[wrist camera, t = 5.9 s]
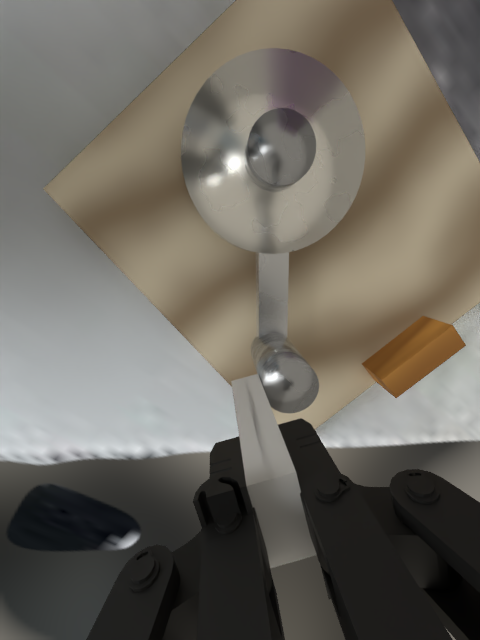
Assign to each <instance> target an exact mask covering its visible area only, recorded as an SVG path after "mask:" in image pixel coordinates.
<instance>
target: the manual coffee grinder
mask: <svg viewBox="0 0 480 640" xmlns="http://www.w3.org/2000/svg"><path fill="white" fill-rule="evenodd" d="M181 162H182V170H183V175H184V179H185V184H186V187H187V189H188V192H189V195H190V197H191V199H192V201H193V203H194V205H195V207H196V209H197V211H198V213H199V214H200V216H201V217H202V219H203V220H204V222H205V223H206V224H207V225H208V226H209V227H210V229H211V230H212V231H213V232H214V233H216V234H217V235H218V236H219V237H220V238H222V239H223V240H225V241H226V242H228V243H229V244H231V245H233V246H235V247H237V248H240V249H243V250H246V251H250V252H255V253H256V337H255V338H254V340H253V342H252V344H251V356H252V359H253V362H254V365H255V368H256V371H257V374H258V375H259V378H260V381H261V383H262V386H263V388H264V391H265V393H266V396H267V399H268V401H269V404H270V406H271V407H272V408H273V409H275V410H277V411H279V412H282V413H297V412H300V411H302V410H304V409H306V408H307V407H309V406H310V405H311V404H312V403H313V401H314V400H315V399H316V397H317V394H318V391H319V380H318V377H317V375H316V373H315V371H314V370H313V369H312V368H311V366H310V365H309V364H308V363H307V361H306V360H305V359H304V358H303V356H302V355H301V354H300V353H299V351H298V350H297V349H296V348H295V346H294V345H293V344H292V343H291V341H290V340H289V339H288V338H287V324H288V276H289V252H292V251H296V250H299V249H302V248H304V247H307V246H309V245H311V244H313V243H315V242H317V241H318V240H320V239H321V238H322V237H324V236H325V235H327V234H328V233H329V232H330V231H331V230H332V229H333V228H334V227H336V225H337V224H338V223H339V222H340V221H341V220H342V218H343V217H344V216H345V214H346V213H347V211H348V210H349V208H350V207H351V205H352V203H353V201H354V199H355V197H356V195H357V192H358V189H359V187H360V184H361V180H362V176H363V172H364V164H365V136H364V130H363V125H362V121H361V117H360V114H359V112H358V109H357V106H356V104H355V102H354V100H353V98H352V96H351V94H350V93H349V91H348V90H347V88H346V87H345V85H344V84H343V83H342V81H341V80H340V79H339V78H338V77H337V76H336V75H335V74H334V73H333V72H332V71H331V70H330V69H329V68H327V67H326V66H325V65H324V64H322V63H320V62H319V61H317V60H316V59H314V58H312V57H310V56H308V55H305V54H303V53H300V52H297V51H293V50H289V49H280V48H267V49H259V50H255V51H250V52H247V53H245V54H242V55H239V56H237V57H235V58H234V59H232V60H230V61H228V62H226V63H225V64H224V65H223V66H221V67H220V68H219V69H217V70H216V71H215V72H214V73H213V74H212V75H211V76H210V77H209V78H208V79H207V80H206V82H205V83H204V84H203V86H202V87H201V88H200V90H199V91H198V93H197V94H196V96H195V98H194V100H193V102H192V104H191V106H190V109H189V111H188V114H187V116H186V120H185V124H184V128H183V133H182V141H181Z"/></svg>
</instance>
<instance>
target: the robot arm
mask: <svg viewBox="0 0 480 640" xmlns="http://www.w3.org/2000/svg"><path fill="white" fill-rule="evenodd" d="M231 382H232V389H233V396H234V403H235V410H236V417H237V424H238V431H239V437H236V438H232V439H229V440H225V441H222V442H218V443H215V445H214V447H213V449H212V451H211V453H210V479H208V480H207V481H206V482H205V483H203V484H202V485H201V486H200V487H199V489H198V490H197V491H196V493H195V496H194V499H193V503H194V506H195V509H196V511H197V514H198V517H199V520H200V523H201V526H202V529H201V531H200V532H199V533H198V534H197V535H196V536H195V537H194V538H193V539H192V540H190V541H189V542H188V543H186V544H185V545H183V546H181V547H180V548H178V549H176V550H175V551H173V552H171V551H170V550H169V549H168V548H167V547H166V546H162V545H153V546H149V547H147V548H145V549H143V550H142V551H140V552H138V553H136V554H135V555H134V556H133V557H132V558H131V559H130V560H129V561H128V562H127V563H126V565H125V566H124V568H123V569H122V571H121V572H120V574H119V576H118V578H117V580H116V581H115V584H114V585H113V587H112V589H111V591H110V594H109V595H108V597H107V599H106V602H105V603H104V605H103V608H102V610H101V611H100V613H99V615H98V617H97V619H96V621H95V623H94V625H93V628H92V629H91V632H90V633H89V636H88V638H87V639H86V640H285V638H284V632H283V627H282V621H281V616H280V610H279V604H278V599H277V593H276V589H275V586H274V583H273V579H272V575H271V570H270V568H273V567H277V566H280V565H284V564H287V563H291V562H295V561H298V560H301V559H304V558H308V557H311V556H315V555H316V554H317V557H318V560H319V562H320V565H321V568H322V573H323V577H324V581H325V585H326V589H327V593H328V598H329V599H331V600H332V603H333V606H334V608H335V611H336V614H337V617H338V620H339V622H340V626H341V628H342V631H343V634H344V637H345V640H452V638H451V637H450V635H449V633H448V632H447V630H448V631H449V632H450V633H451V634H452V636H453V637H454V638H455V639H456V640H480V502H478V501H476V500H475V499H473V498H472V497H470V496H469V495H467V494H466V493H464V492H463V491H461V490H460V489H458V488H457V487H455V486H454V485H452V484H450V483H449V482H448V481H446V480H444V479H443V478H441V477H439V476H437V475H435V474H433V473H431V472H428V471H423V470H419V469H418V470H405V471H402V472H399V473H397V474H396V475H395V476H394V477H393V478H392V480H391V483H390V487H364V486H361V485H357V484H354V483H353V482H352V481H351V480H350V479H349V478H348V477H347V476H345V475H343V474H341V473H340V472H339V470H338V468H337V467H336V465H335V464H334V462H333V460H332V458H331V457H330V455H329V454H328V452H327V450H326V448H325V447H324V445H323V443H322V442H321V440H320V438H319V436H318V435H317V433H316V431H315V430H314V428H313V426H312V425H311V424H310V423H309V422H307V421H305V420H304V419H302V418H300V419H296V420H293V421H289V422H286V423H282V424H277V422H276V419H275V416H274V414H273V411H272V409H271V406H270V404H269V401H268V399H267V396H266V393H265V391H264V388H263V386H262V383H261V381H260V378H259V375H258V374H255V375H251V376H248V377H244V378H240V379H237V380H233V381H231ZM446 629H447V630H446Z"/></svg>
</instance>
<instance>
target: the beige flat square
mask: <svg viewBox="0 0 480 640" xmlns="http://www.w3.org/2000/svg"><path fill="white" fill-rule="evenodd" d="M267 48H280V49H289V50H293V51H297V52H300V53H303V54H305V55H308V56H310V57H312V58H314V59H316V60H317V61H319V62H320V63H322V64H324V65H325V66H326V67H327V68H329V69H330V70H331V71H332V72H333V73H334V74H335V75H336V76H337V77H338V78H339V79H340V80H341V81H342V83H343V84H344V85H345V87H346V88H347V90H348V91H349V93H350V94H351V96H352V98H353V100H354V102H355V104H356V106H357V109H358V112H359V114H360V117H361V121H362V125H363V130H364V136H365V164H364V172H363V176H362V180H361V184H360V187H359V189H358V192H357V195H356V197H355V199H354V201H353V203H352V205H351V207H350V208H349V210H348V211H347V213H346V214H345V216H344V217H343V218H342V220H341V221H340V222H339V223H338V224H337V225H336V227H334V228H333V229H332V230H331V231H330V232H329V233H328V234H327V235H325V236H324V237H322V238H321V239H320V240H318V241H317V242H315V243H313V244H311V245H309V246H307V247H304V248H302V249H299V250H296V251H292V252H289V276H288V324H287V338H288V339H289V340H290V341H291V343H292V344H293V345H294V346H295V348H296V349H297V350H298V351H299V353H300V354H301V355H302V356H303V358H304V359H305V360H306V361H307V363H308V364H309V365H310V366H311V368H312V369H313V370H314V371H315V373H316V375H317V377H318V380H319V391H318V394H317V397H316V399H315V400H314V401H313V403H312V404H311V405H310V406H309V407H307V408H306V409H304V410H302V411H300V412H297V413H282V412H279V411H277V410H275V409H273V408H272V407H271V409H272V411H273V414H274V416H275V419H276V422H277V424H282V423H286V422H289V421H293V420H296V419H300V418H302V419H304V420H305V421H307V422H309V423H310V424H311V425H312V426H313V428H314V430H315V429H316V428H317V427H319V426H320V425H321V424H323V423H324V422H325V421H327V420H328V419H329V418H330V417H332V416H333V415H334V414H336V413H337V412H338V411H340V410H341V409H342V408H343V407H345V406H346V405H347V404H349V403H350V402H351V401H352V400H354V399H355V398H356V397H358V396H359V395H360V394H362V393H363V392H364V391H365V390H367V389H368V388H369V387H371V386H372V385H373V384H375V383H376V382H377V383H378V384H380V385H381V386H382V387H383V388H384V389H386V390H387V391H388V392H389V393H390V394H392V395H393V396H394V397H395V398H397V397H398V396H400V395H401V394H402V393H404V392H405V391H406V390H408V389H409V388H410V387H412V386H413V385H414V384H416V383H417V382H418V381H420V380H421V379H422V378H424V377H425V376H426V375H427V374H429V373H430V372H431V371H433V370H434V369H435V368H437V367H438V366H439V365H441V364H442V363H443V362H445V361H446V360H447V359H449V358H450V357H451V356H453V355H454V354H455V353H457V352H458V351H459V350H460V349H462V348H463V347H464V346H466V345H465V343H464V342H463V340H462V339H461V337H460V336H459V334H458V333H457V331H456V330H455V328H454V326H453V325H451V324H452V323H454V322H455V321H456V320H458V319H459V318H460V317H461V316H463V315H464V314H465V313H467V312H468V311H469V310H471V309H472V308H473V307H474V306H476V305H477V304H478V303H480V162H479V160H478V158H477V157H476V155H475V153H474V151H473V149H472V147H471V146H470V144H469V142H468V140H467V138H466V136H465V134H464V133H463V131H462V129H461V127H460V125H459V123H458V122H457V120H456V118H455V116H454V114H453V112H452V110H451V109H450V107H449V105H448V103H447V101H446V99H445V97H444V96H443V94H442V92H441V90H440V88H439V86H438V85H437V83H436V81H435V79H434V77H433V75H432V73H431V72H430V70H429V68H428V66H427V64H426V62H425V61H424V59H423V57H422V55H421V53H420V51H419V49H418V48H417V46H416V44H415V42H414V40H413V38H412V37H411V35H410V33H409V31H408V29H407V27H406V25H405V24H404V22H403V20H402V18H401V16H400V14H399V13H398V11H397V9H396V7H395V5H394V3H393V1H392V0H236V1H235V2H234V3H233V4H232V5H231V6H230V7H229V8H228V9H227V10H226V11H225V12H224V13H223V14H221V15H220V16H219V17H218V18H217V19H216V20H215V21H214V22H213V23H212V24H211V25H210V26H209V27H208V28H207V29H206V30H205V31H204V32H203V33H202V34H201V35H200V36H199V37H198V38H197V39H196V40H195V41H194V42H193V43H192V44H191V45H190V46H189V47H188V48H187V49H186V50H185V51H184V52H183V53H182V54H181V55H180V56H178V57H177V58H176V59H175V60H174V61H173V62H172V63H171V64H170V65H169V66H168V67H167V68H166V69H165V70H164V71H163V72H162V73H161V74H160V75H159V76H158V77H157V78H156V79H155V80H154V81H153V82H152V83H151V84H150V85H149V86H148V87H147V88H146V89H145V90H144V91H143V92H142V93H141V94H140V95H139V96H138V97H137V98H135V99H134V100H133V101H132V102H131V103H130V104H129V105H128V106H127V107H126V108H125V109H124V110H123V111H122V112H121V113H120V114H119V115H118V116H117V117H116V118H115V119H114V120H113V121H112V122H111V123H110V124H109V125H108V126H107V127H106V128H105V129H104V130H103V131H102V132H101V133H100V134H99V135H98V136H97V137H96V138H95V139H94V140H92V141H91V142H90V143H89V144H88V145H87V146H86V147H85V148H84V149H83V150H82V151H81V152H80V153H79V154H78V155H77V156H76V157H75V158H74V159H73V160H72V161H71V162H70V163H69V164H68V165H67V166H66V167H65V168H64V169H63V170H62V171H61V172H60V173H59V174H58V175H57V176H56V177H55V178H54V179H53V180H52V181H51V182H50V183H48V184H47V185H46V186H45V187H44V188H43V189H44V190H45V191H46V193H47V194H48V195H49V196H50V197H51V198H52V199H53V200H54V201H55V202H56V203H57V204H58V205H59V206H60V207H61V208H62V209H63V210H64V211H65V212H66V213H67V215H68V216H69V217H70V218H71V219H72V220H73V221H74V222H75V223H76V224H77V225H78V226H79V227H80V228H81V229H82V230H83V231H84V232H85V233H86V234H87V236H88V237H89V238H90V239H91V240H92V241H93V242H94V243H95V244H96V245H97V246H98V247H99V248H100V249H101V250H102V251H103V252H104V253H105V254H106V255H107V256H108V258H109V259H110V260H111V261H112V262H113V263H114V264H115V265H116V266H117V267H118V268H119V269H120V270H121V271H122V272H123V273H124V274H125V275H126V276H127V277H128V279H129V280H130V281H131V282H132V283H133V284H134V285H135V286H136V287H137V288H138V289H139V290H140V291H141V292H142V293H143V294H144V295H145V296H146V297H147V298H148V299H149V301H150V302H151V303H152V304H153V305H154V306H155V307H156V308H157V309H158V310H159V311H160V312H161V313H162V314H163V315H164V316H165V317H166V318H167V319H168V320H169V321H170V323H171V324H172V325H173V326H174V327H175V328H176V329H177V330H178V331H179V332H180V333H181V334H182V335H183V336H184V337H185V338H186V339H187V340H188V341H189V342H190V344H191V345H192V346H193V347H194V348H195V349H196V350H197V351H198V352H199V353H200V354H201V355H202V356H203V357H204V358H205V359H206V360H207V361H208V362H209V363H210V364H211V366H212V367H213V368H214V369H215V370H216V371H217V372H218V373H219V374H220V375H221V376H222V377H223V378H224V379H225V380H226V381H227V382H228V383H229V384H230V385H231V387H232V382H231V381H233V380H237V379H240V378H244V377H248V376H251V375H255V374H257V371H256V368H255V365H254V362H253V359H252V356H251V344H252V342H253V340H254V338H255V337H256V253H255V252H250V251H246V250H243V249H240V248H237V247H235V246H233V245H231V244H229V243H228V242H226V241H225V240H223V239H222V238H220V237H219V236H218V235H217V234H216V233H214V232H213V231H212V230H211V229H210V227H209V226H208V225H207V224H206V223H205V222H204V220H203V219H202V217H201V216H200V214H199V213H198V211H197V209H196V207H195V205H194V203H193V201H192V199H191V197H190V195H189V192H188V189H187V187H186V184H185V179H184V175H183V170H182V162H181V141H182V133H183V128H184V124H185V120H186V116H187V114H188V111H189V109H190V106H191V104H192V102H193V100H194V98H195V96H196V94H197V93H198V91H199V90H200V88H201V87H202V86H203V84H204V83H205V82H206V80H207V79H208V78H209V77H210V76H211V75H212V74H213V73H214V72H215V71H216V70H217V69H219V68H220V67H221V66H223V65H224V64H225V63H226V62H228V61H230V60H232V59H234V58H235V57H237V56H239V55H242V54H245V53H247V52H250V51H255V50H259V49H267Z"/></svg>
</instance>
